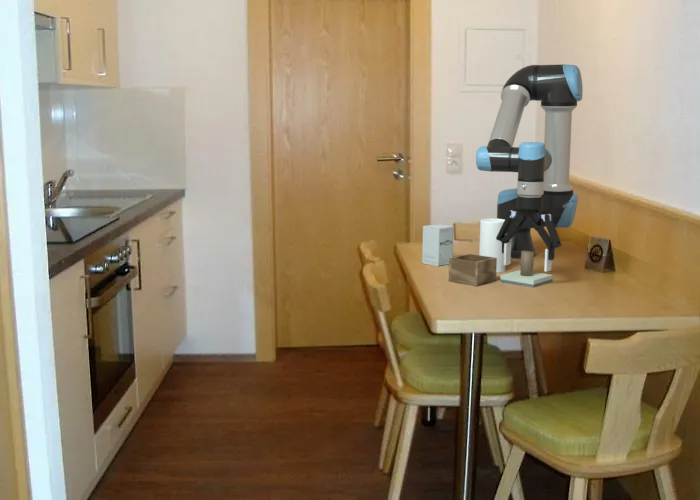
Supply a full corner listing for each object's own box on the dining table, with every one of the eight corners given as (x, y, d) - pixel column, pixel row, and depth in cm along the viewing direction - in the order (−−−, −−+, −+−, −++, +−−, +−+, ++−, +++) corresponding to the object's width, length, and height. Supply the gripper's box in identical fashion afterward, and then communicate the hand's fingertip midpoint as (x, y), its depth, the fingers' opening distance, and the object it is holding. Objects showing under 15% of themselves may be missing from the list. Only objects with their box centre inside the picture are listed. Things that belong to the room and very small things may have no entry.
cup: (504, 273, 258) (506, 222, 255) (478, 272, 259) (479, 221, 256) (505, 268, 266) (507, 218, 263) (479, 267, 267) (481, 217, 264)
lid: (519, 273, 253) (520, 247, 251) (552, 278, 246) (553, 251, 244) (500, 279, 245) (501, 251, 243) (533, 284, 238) (534, 256, 236)
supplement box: (438, 266, 268) (438, 228, 265) (421, 263, 273) (422, 225, 271) (453, 264, 272) (454, 225, 270) (436, 260, 278) (437, 223, 276)
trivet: (519, 276, 253) (519, 273, 253) (552, 281, 246) (552, 278, 246) (500, 281, 245) (500, 279, 245) (533, 287, 238) (533, 284, 238)
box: (467, 276, 252) (468, 253, 251) (495, 281, 246) (496, 257, 245) (448, 281, 245) (449, 258, 244) (477, 286, 239) (477, 262, 237)
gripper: (486, 193, 246) (483, 263, 250) (563, 200, 230) (559, 275, 234) (499, 191, 252) (497, 260, 256) (575, 198, 235) (571, 271, 239)
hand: (526, 267), depth 245 cm, fingers open, 13 cm apart
